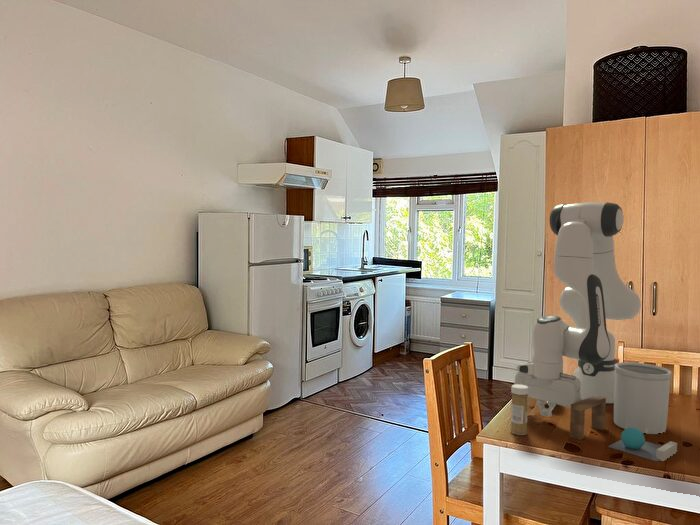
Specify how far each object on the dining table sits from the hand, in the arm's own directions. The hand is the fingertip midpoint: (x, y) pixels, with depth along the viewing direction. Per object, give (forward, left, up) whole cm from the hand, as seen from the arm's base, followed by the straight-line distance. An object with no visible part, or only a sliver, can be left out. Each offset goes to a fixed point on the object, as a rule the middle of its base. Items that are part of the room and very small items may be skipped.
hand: (545, 415), depth 161 cm
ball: (+2, +26, +1) cm, 26 cm away
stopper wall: (0, +34, -2) cm, 34 cm away
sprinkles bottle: (+16, +1, -2) cm, 16 cm away
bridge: (0, +13, -2) cm, 13 cm away
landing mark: (0, +28, -2) cm, 28 cm away
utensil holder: (-18, +20, -2) cm, 27 cm away
